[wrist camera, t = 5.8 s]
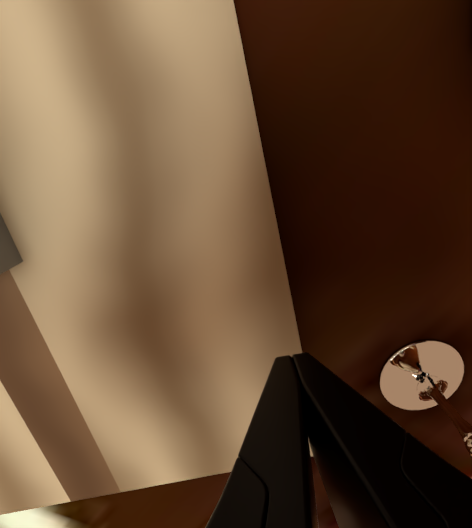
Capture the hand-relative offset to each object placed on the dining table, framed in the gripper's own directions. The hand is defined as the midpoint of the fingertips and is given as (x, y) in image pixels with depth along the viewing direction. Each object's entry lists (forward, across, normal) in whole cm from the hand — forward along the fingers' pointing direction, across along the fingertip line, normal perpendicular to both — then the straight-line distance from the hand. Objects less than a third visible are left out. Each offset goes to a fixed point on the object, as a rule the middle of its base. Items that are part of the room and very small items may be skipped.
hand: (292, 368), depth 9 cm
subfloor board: (+7, +9, 0) cm, 12 cm away
